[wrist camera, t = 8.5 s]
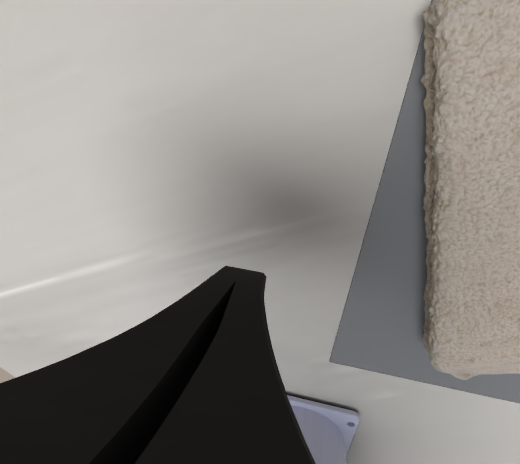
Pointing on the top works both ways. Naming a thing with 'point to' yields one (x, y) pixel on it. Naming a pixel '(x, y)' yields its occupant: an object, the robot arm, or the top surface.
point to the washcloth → (472, 186)
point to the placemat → (401, 268)
